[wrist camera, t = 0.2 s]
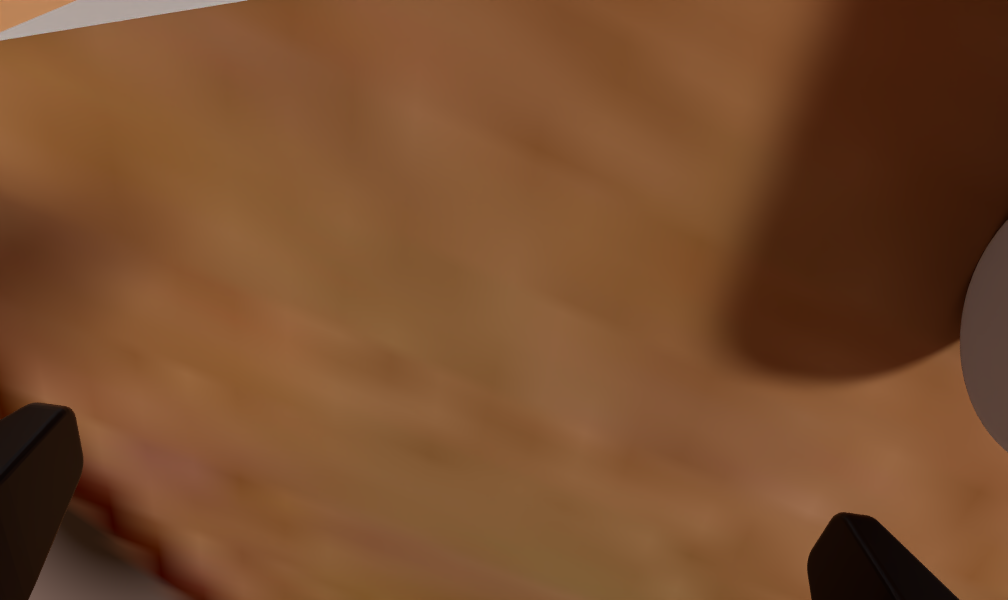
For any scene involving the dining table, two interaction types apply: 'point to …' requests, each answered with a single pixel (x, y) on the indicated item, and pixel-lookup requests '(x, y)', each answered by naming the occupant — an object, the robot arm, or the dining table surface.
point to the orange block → (25, 10)
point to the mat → (101, 14)
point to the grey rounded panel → (988, 338)
